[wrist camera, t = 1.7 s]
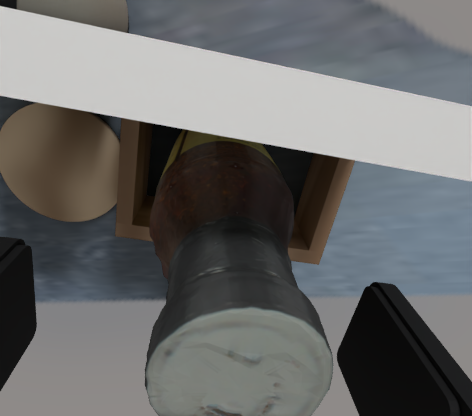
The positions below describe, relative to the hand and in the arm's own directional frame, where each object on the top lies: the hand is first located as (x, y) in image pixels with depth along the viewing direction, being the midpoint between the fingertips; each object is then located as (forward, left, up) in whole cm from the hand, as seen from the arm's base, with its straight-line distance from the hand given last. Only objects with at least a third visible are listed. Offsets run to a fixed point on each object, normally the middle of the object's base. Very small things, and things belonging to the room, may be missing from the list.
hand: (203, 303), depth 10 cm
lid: (-1, -6, -17) cm, 18 cm away
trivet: (+10, +3, -17) cm, 20 cm away
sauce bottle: (-1, 0, -17) cm, 17 cm away
